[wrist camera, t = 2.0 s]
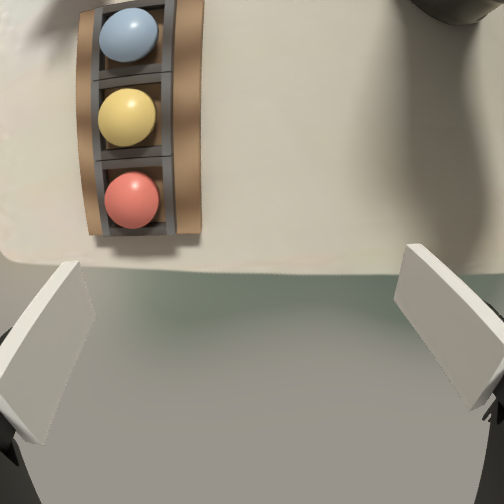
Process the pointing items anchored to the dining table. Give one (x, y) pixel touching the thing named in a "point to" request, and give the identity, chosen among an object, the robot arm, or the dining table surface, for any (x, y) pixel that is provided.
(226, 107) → the dining table surface
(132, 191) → the button red
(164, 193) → the button panel
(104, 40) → the button blue
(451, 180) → the dining table surface
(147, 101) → the button ochre
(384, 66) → the dining table surface
